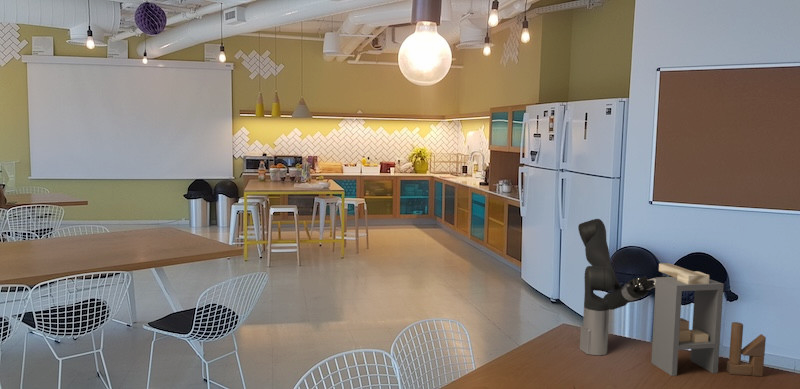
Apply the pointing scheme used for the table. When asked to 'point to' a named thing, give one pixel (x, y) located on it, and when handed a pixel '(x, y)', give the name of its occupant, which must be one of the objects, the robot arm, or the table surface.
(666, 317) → the frame
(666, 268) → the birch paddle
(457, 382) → the table surface
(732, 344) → the wooden block
